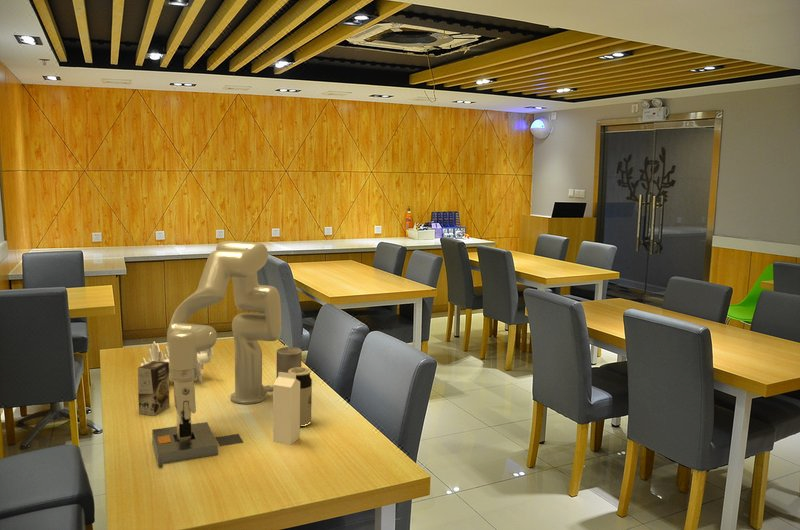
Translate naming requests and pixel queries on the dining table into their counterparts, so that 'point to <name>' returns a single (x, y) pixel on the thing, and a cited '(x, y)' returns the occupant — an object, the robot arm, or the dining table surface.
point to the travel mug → (304, 392)
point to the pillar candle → (288, 359)
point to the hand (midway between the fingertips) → (184, 432)
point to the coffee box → (153, 387)
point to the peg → (178, 429)
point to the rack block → (183, 444)
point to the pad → (229, 440)
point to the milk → (286, 408)
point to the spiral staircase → (158, 356)
